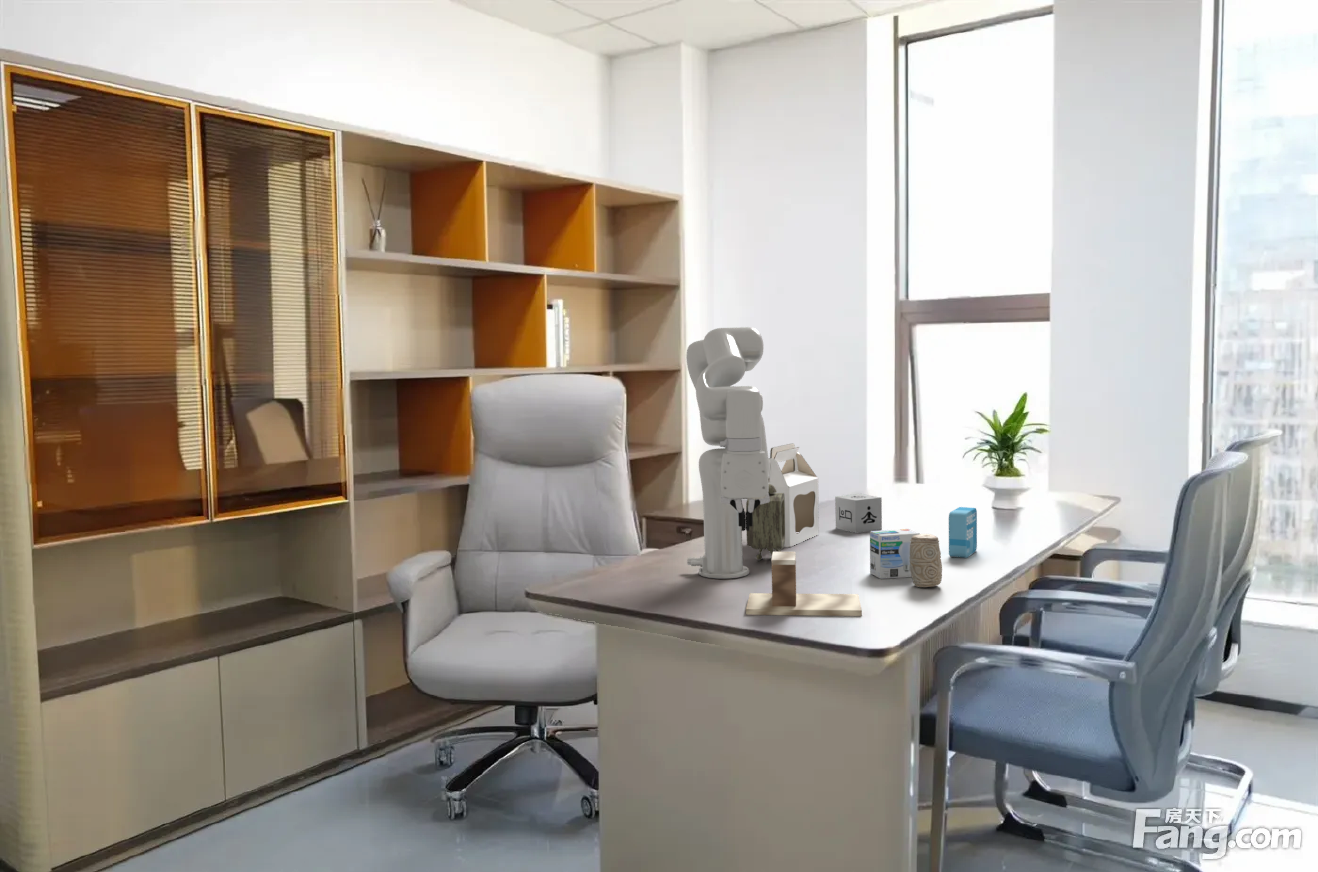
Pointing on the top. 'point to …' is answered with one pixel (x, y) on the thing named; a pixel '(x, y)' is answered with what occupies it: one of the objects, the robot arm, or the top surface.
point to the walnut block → (784, 579)
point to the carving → (925, 560)
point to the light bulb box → (890, 553)
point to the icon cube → (858, 513)
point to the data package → (962, 532)
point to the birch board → (806, 605)
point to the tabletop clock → (768, 524)
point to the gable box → (795, 493)
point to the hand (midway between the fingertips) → (745, 529)
